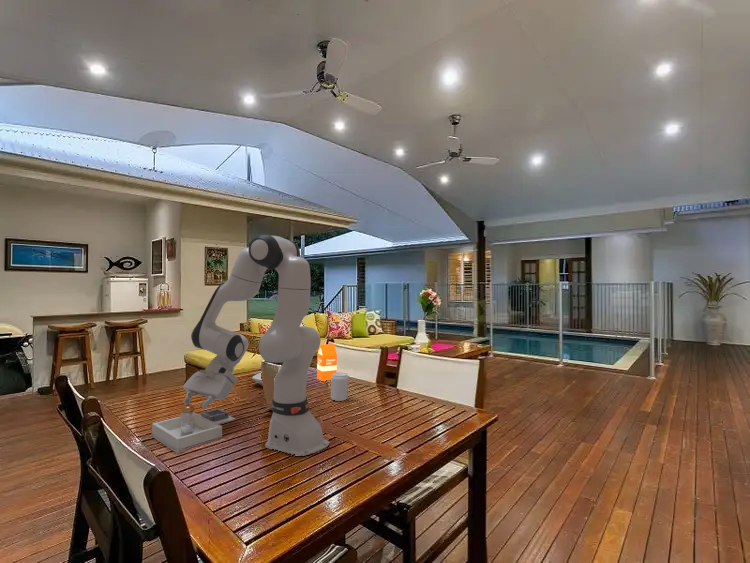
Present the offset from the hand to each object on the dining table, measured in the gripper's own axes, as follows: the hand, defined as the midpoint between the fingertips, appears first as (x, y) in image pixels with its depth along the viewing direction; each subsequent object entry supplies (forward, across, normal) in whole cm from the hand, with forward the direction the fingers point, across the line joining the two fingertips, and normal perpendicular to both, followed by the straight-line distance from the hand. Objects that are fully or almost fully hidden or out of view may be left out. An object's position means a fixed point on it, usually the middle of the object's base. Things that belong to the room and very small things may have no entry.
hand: (193, 405), depth 137 cm
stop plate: (-3, -7, +18) cm, 19 cm away
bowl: (-39, -24, +54) cm, 71 cm away
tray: (+9, -1, +6) cm, 11 cm away
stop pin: (+8, 0, +5) cm, 10 cm away
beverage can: (-37, +18, +53) cm, 67 cm away
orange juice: (-56, -8, +71) cm, 91 cm away
